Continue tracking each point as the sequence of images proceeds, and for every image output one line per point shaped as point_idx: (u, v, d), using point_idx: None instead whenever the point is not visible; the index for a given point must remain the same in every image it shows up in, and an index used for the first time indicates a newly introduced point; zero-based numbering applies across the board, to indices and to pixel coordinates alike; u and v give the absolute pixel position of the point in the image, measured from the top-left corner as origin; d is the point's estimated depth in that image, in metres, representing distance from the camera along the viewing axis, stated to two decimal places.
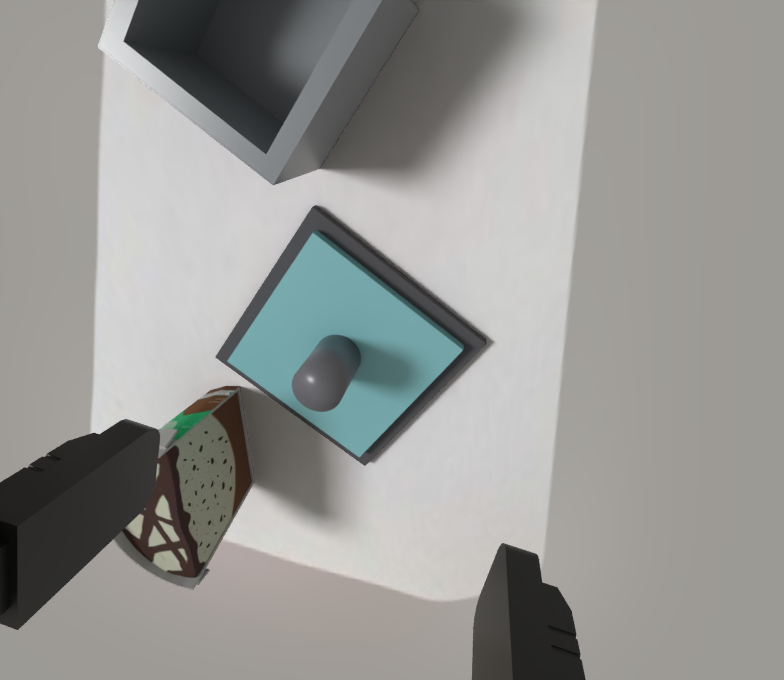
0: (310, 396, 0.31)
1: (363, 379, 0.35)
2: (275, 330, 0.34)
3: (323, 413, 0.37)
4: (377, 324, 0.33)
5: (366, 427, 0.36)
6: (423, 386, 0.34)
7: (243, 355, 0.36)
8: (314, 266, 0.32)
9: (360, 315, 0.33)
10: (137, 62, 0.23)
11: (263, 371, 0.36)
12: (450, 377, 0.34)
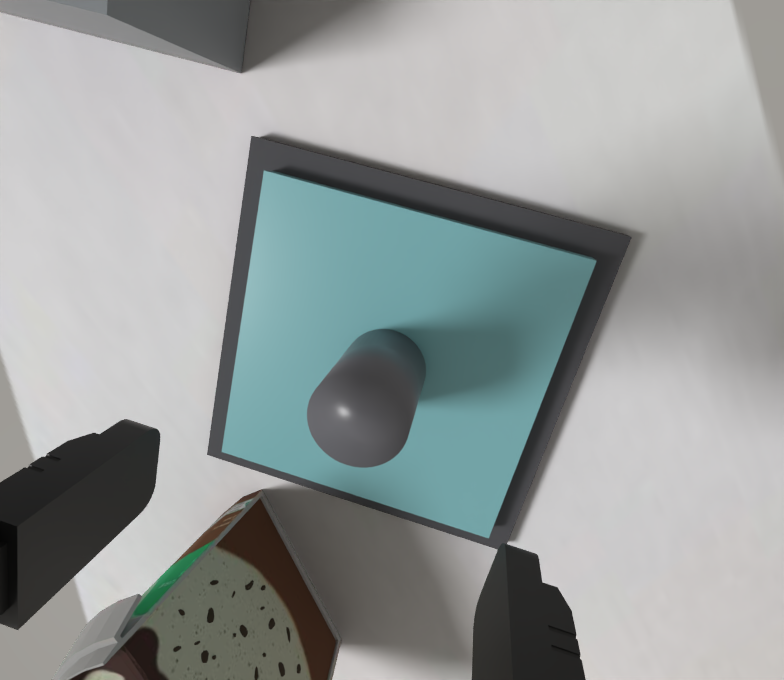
0: (351, 440, 0.15)
1: (442, 393, 0.19)
2: (271, 367, 0.20)
3: (399, 481, 0.21)
4: (427, 282, 0.18)
5: (480, 479, 0.20)
6: (550, 361, 0.18)
7: (241, 431, 0.22)
8: (288, 227, 0.18)
9: (393, 279, 0.18)
10: None
11: (280, 446, 0.21)
12: (591, 329, 0.18)
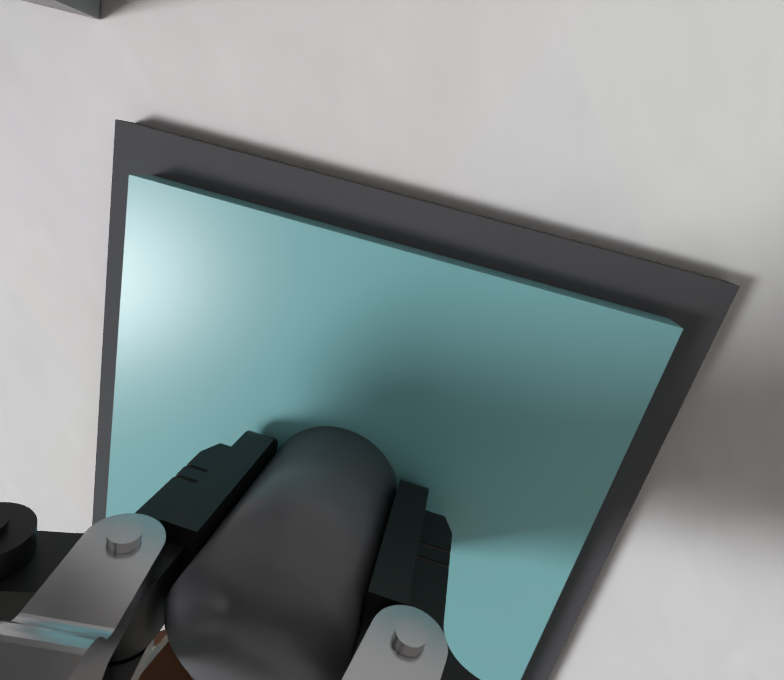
0: (247, 671, 0.08)
1: None
2: (163, 476, 0.13)
3: None
4: (397, 356, 0.11)
5: (483, 651, 0.13)
6: (598, 486, 0.11)
7: None
8: (173, 267, 0.11)
9: (342, 350, 0.11)
10: None
11: None
12: (663, 431, 0.11)
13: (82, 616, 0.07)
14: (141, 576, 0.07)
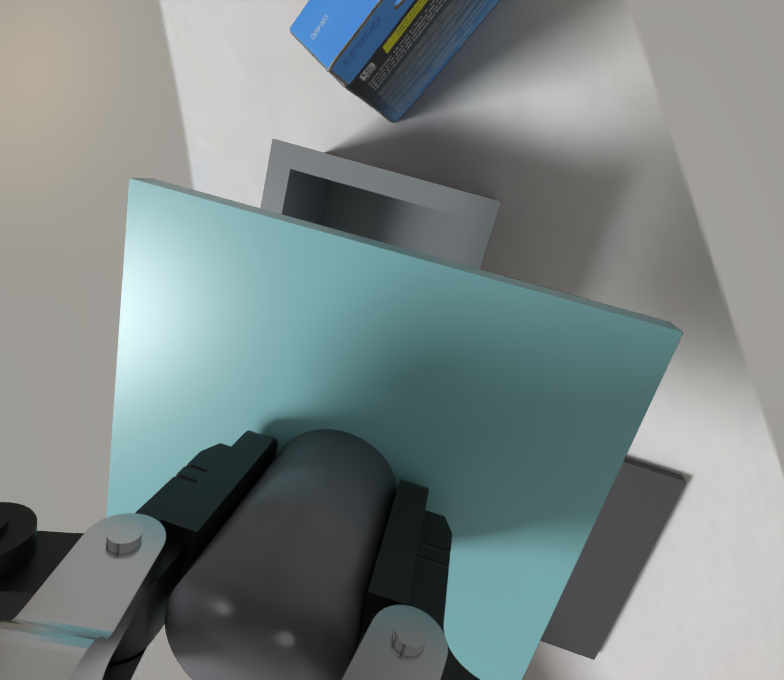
0: (247, 675, 0.08)
1: None
2: (163, 479, 0.13)
3: None
4: (397, 359, 0.11)
5: (483, 653, 0.13)
6: (598, 489, 0.11)
7: None
8: (174, 270, 0.11)
9: (342, 353, 0.11)
10: None
11: None
12: (659, 530, 0.30)
13: (82, 616, 0.07)
14: (141, 576, 0.07)
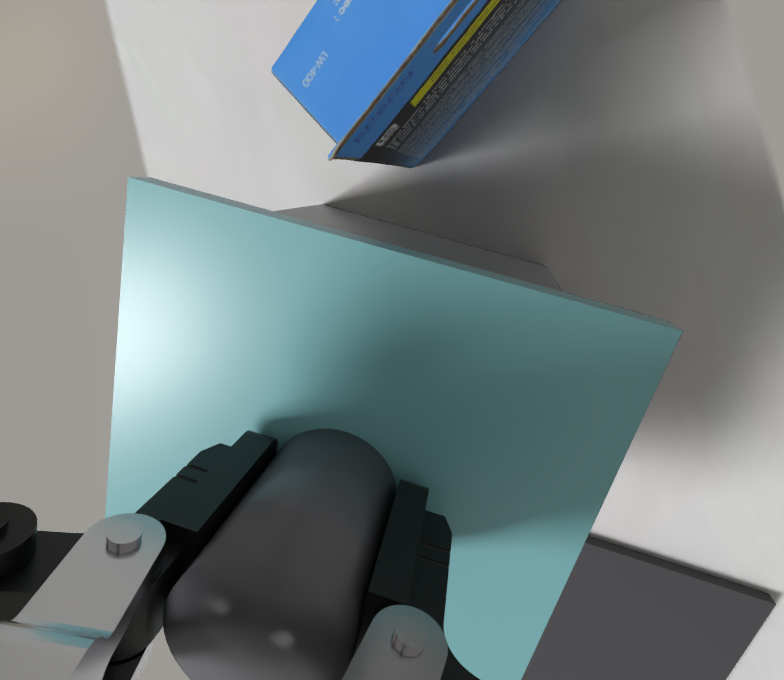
0: (246, 675, 0.08)
1: None
2: (162, 478, 0.13)
3: None
4: (396, 359, 0.11)
5: (482, 653, 0.13)
6: (597, 489, 0.11)
7: None
8: (173, 269, 0.11)
9: (341, 352, 0.11)
10: None
11: None
12: (738, 656, 0.25)
13: (82, 616, 0.07)
14: (141, 576, 0.07)
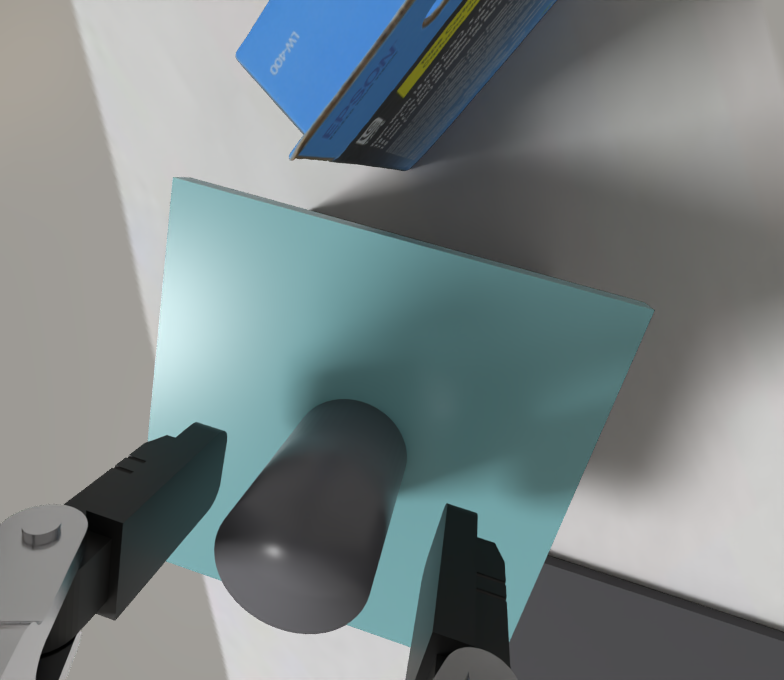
0: (283, 595, 0.10)
1: (429, 487, 0.14)
2: None
3: (372, 598, 0.15)
4: (406, 336, 0.13)
5: None
6: (583, 450, 0.13)
7: None
8: (210, 258, 0.13)
9: (358, 331, 0.13)
10: None
11: (212, 547, 0.16)
12: None
13: (8, 608, 0.06)
14: (54, 567, 0.07)
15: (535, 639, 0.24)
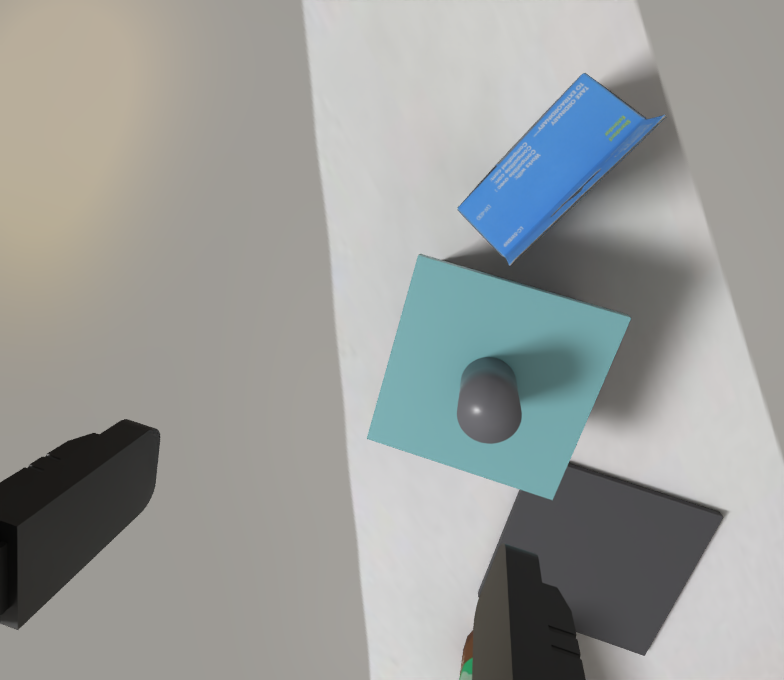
0: (484, 426, 0.25)
1: (526, 400, 0.29)
2: (409, 381, 0.30)
3: (492, 460, 0.31)
4: (521, 327, 0.28)
5: (548, 458, 0.30)
6: (599, 380, 0.28)
7: (382, 424, 0.31)
8: (431, 291, 0.29)
9: (498, 325, 0.28)
10: None
11: (409, 435, 0.31)
12: (700, 554, 0.38)
13: None
14: None
15: (564, 517, 0.39)
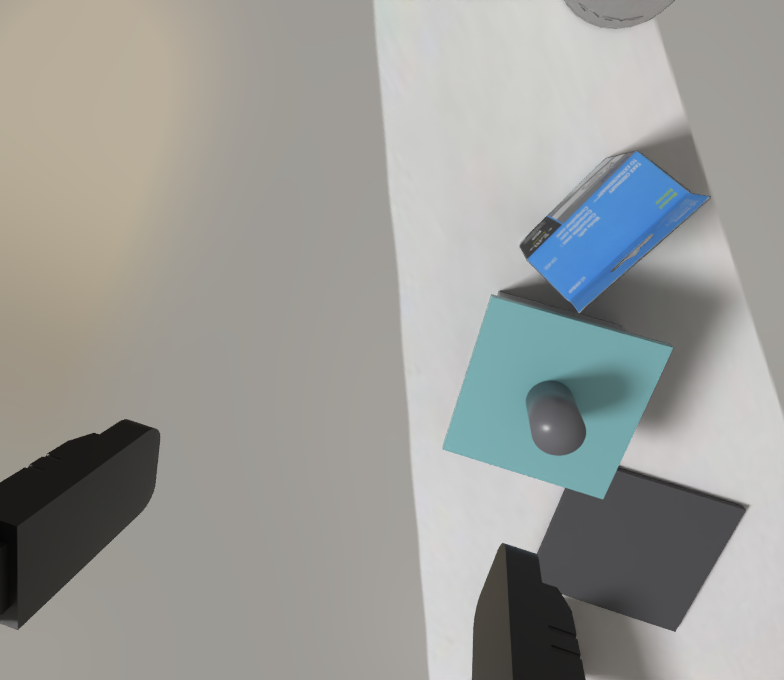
0: (554, 442, 0.31)
1: (582, 416, 0.35)
2: (481, 400, 0.36)
3: (551, 466, 0.36)
4: (578, 356, 0.34)
5: (600, 464, 0.36)
6: (645, 399, 0.34)
7: (456, 437, 0.37)
8: (501, 326, 0.34)
9: (559, 354, 0.34)
10: None
11: (480, 445, 0.37)
12: (725, 542, 0.43)
13: None
14: None
15: (605, 512, 0.44)
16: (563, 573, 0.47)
